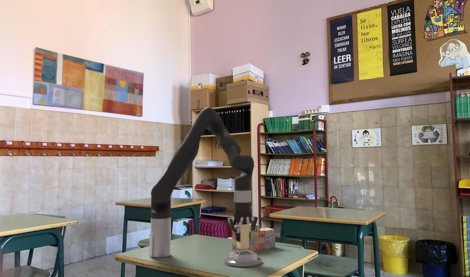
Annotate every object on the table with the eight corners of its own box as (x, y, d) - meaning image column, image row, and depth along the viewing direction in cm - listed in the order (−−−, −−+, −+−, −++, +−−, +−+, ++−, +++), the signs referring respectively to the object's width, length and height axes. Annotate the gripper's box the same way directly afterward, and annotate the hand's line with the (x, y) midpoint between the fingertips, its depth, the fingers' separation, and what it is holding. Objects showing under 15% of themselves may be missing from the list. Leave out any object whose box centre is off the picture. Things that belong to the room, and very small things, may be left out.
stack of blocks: (268, 245, 191) (268, 221, 192) (275, 248, 185) (275, 223, 186) (232, 250, 181) (231, 225, 182) (238, 253, 175) (238, 226, 176)
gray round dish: (232, 269, 147) (232, 258, 147) (219, 259, 162) (219, 250, 162) (268, 264, 153) (268, 255, 153) (252, 256, 168) (252, 247, 168)
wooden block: (240, 248, 155) (240, 224, 156) (236, 247, 159) (236, 223, 160) (249, 248, 157) (249, 224, 158) (245, 246, 161) (245, 222, 161)
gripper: (230, 202, 153) (230, 244, 152) (261, 200, 159) (261, 241, 157) (224, 200, 160) (224, 241, 159) (253, 199, 166) (254, 238, 164)
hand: (243, 241), depth 158 cm, fingers closed on wooden block, 4 cm apart
